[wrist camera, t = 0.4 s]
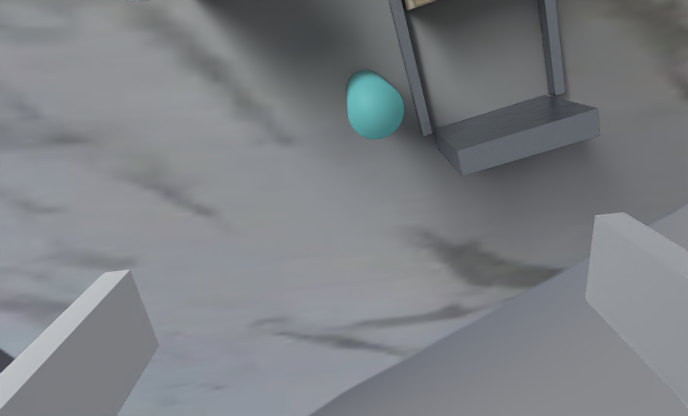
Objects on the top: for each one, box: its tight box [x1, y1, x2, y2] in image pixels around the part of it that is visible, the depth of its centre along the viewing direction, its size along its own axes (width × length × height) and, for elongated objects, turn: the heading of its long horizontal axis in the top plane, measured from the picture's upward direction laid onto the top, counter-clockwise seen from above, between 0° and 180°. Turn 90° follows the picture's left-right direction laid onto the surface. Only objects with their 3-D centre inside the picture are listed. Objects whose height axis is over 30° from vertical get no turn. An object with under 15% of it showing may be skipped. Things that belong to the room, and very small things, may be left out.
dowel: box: [346, 70, 404, 139], centre depth 30 cm, size 3×3×12 cm
